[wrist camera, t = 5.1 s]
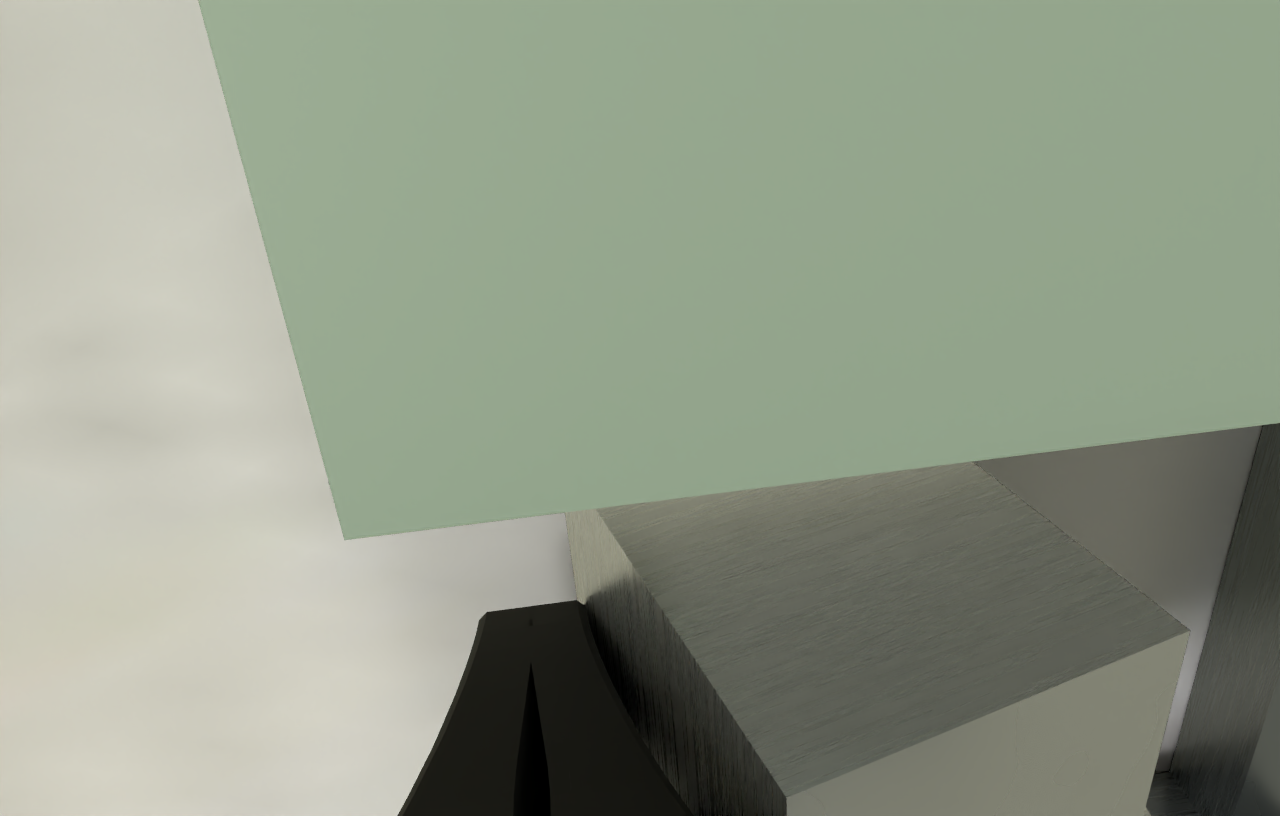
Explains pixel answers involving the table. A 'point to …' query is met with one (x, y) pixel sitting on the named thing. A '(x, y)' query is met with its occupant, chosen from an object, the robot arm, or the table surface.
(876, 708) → the steel block
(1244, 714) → the vise frame
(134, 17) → the table surface
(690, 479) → the block
